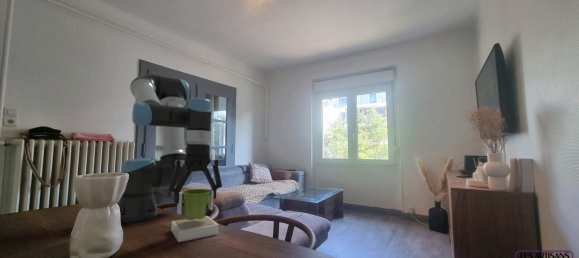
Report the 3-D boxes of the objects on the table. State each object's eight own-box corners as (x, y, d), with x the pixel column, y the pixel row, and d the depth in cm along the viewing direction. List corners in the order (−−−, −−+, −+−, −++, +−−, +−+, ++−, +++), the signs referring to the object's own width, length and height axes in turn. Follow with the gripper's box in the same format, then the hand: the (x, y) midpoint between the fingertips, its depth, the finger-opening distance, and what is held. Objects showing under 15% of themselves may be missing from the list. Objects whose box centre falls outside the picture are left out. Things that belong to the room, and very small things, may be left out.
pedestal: (171, 230, 80) (171, 220, 80) (207, 224, 87) (207, 215, 87) (178, 242, 70) (178, 230, 70) (218, 234, 77) (218, 223, 77)
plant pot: (215, 215, 82) (216, 189, 83) (198, 223, 73) (199, 194, 74) (192, 213, 84) (193, 188, 85) (173, 220, 75) (174, 192, 76)
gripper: (163, 142, 71) (159, 219, 70) (233, 144, 84) (231, 209, 82) (160, 143, 78) (156, 213, 76) (225, 144, 90) (223, 204, 88)
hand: (195, 211), depth 79 cm, fingers closed on plant pot, 9 cm apart
